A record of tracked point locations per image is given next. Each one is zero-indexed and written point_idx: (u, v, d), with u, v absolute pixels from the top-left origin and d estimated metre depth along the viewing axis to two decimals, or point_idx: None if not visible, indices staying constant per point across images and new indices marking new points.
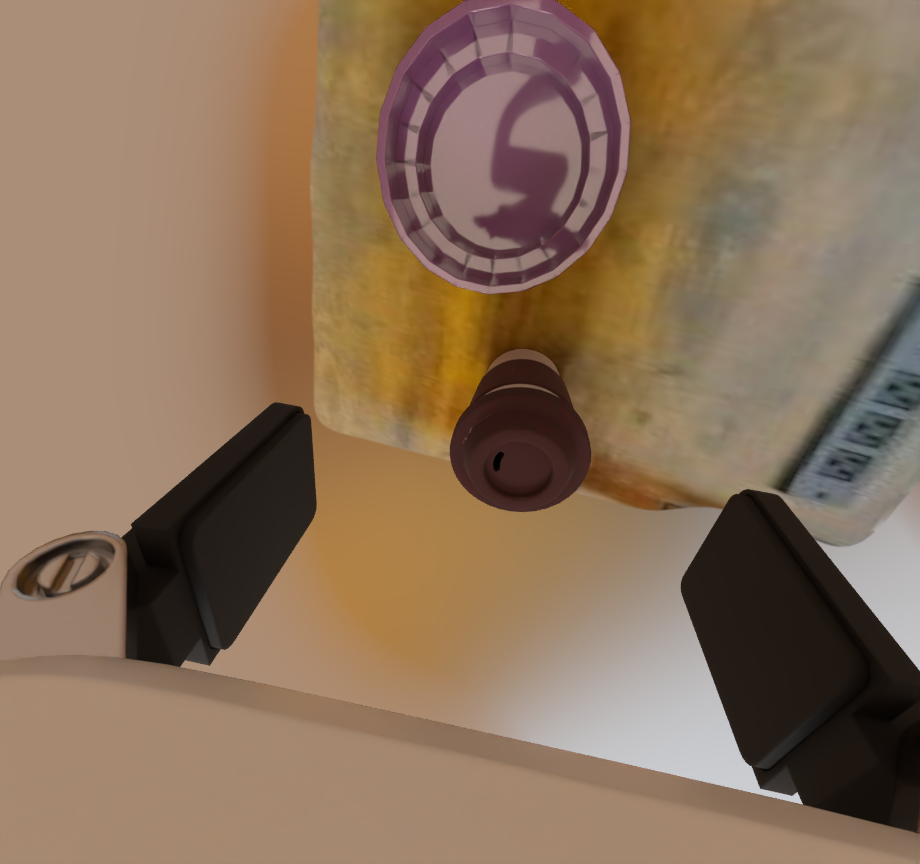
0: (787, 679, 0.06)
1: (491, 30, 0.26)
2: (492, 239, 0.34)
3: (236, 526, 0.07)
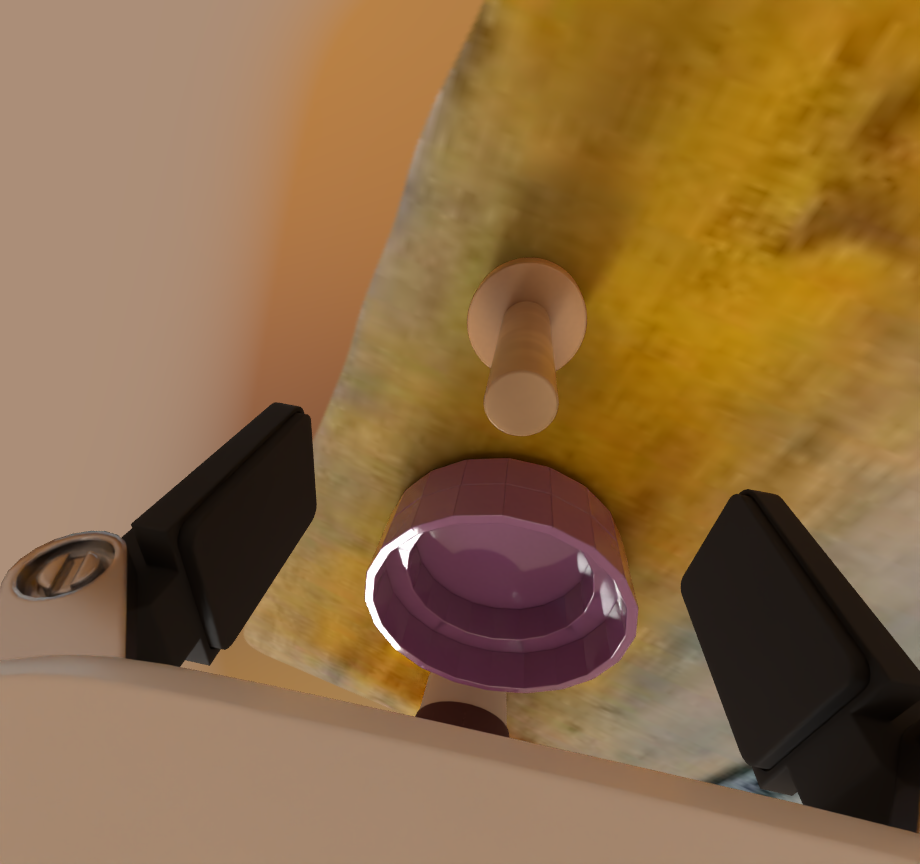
0: (787, 679, 0.06)
1: None
2: (472, 592, 0.33)
3: (236, 526, 0.07)
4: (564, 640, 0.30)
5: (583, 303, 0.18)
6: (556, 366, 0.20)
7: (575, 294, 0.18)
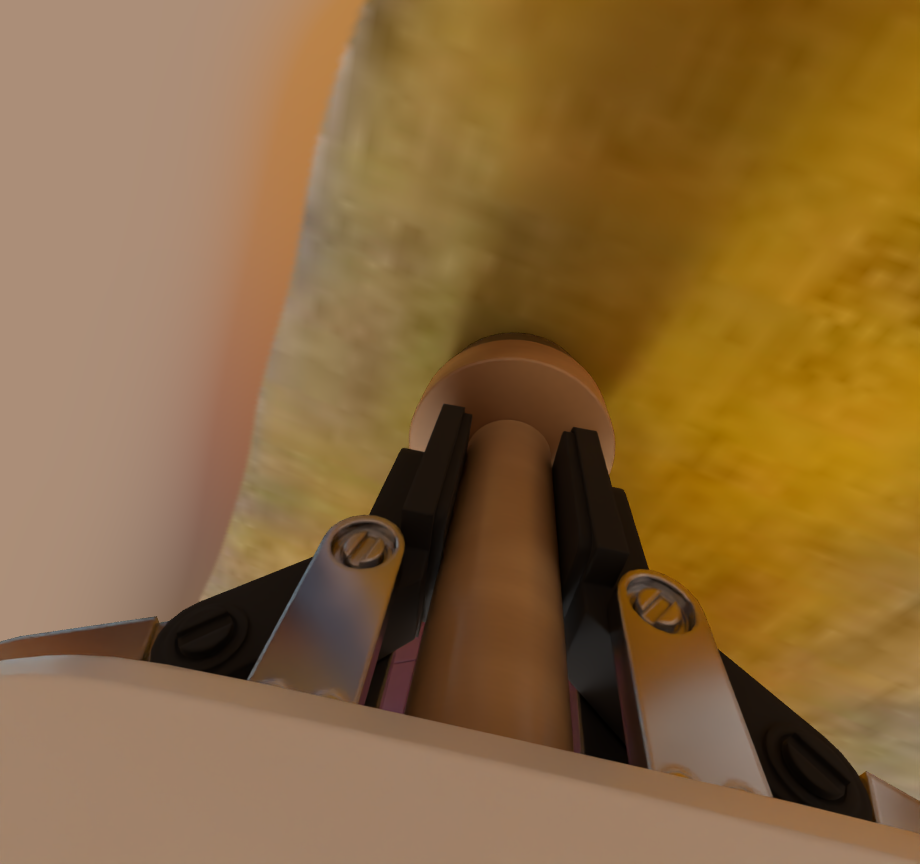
0: None
1: None
2: None
3: (450, 513, 0.08)
4: None
5: (609, 425, 0.10)
6: None
7: (595, 411, 0.10)
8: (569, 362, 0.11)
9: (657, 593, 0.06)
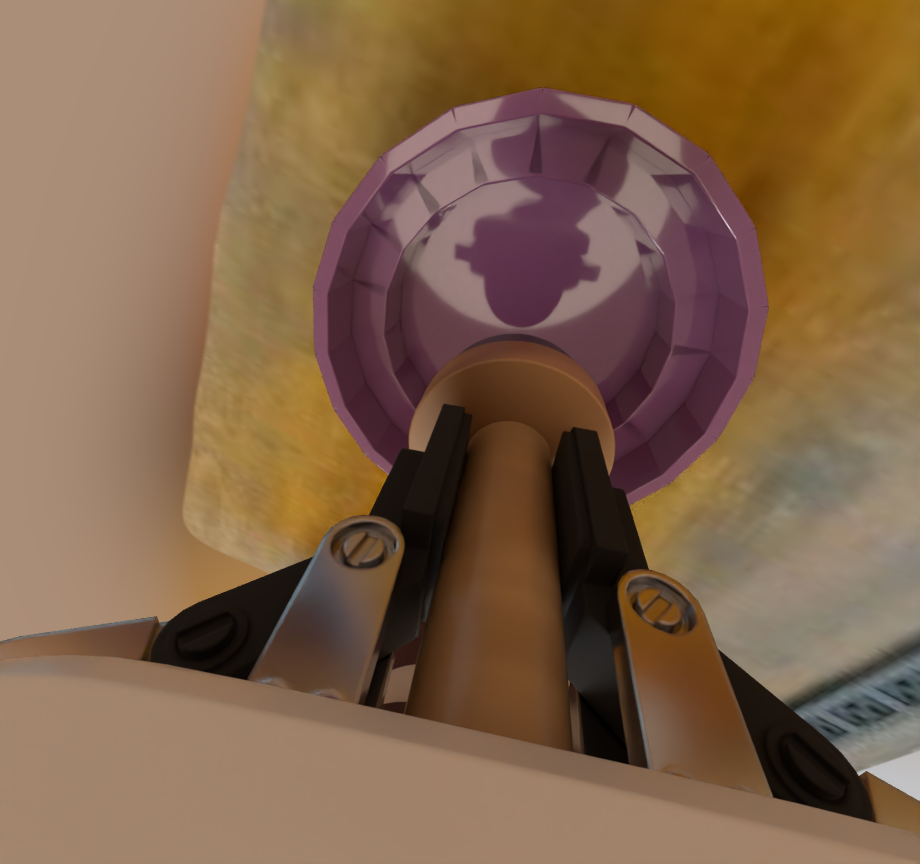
0: (559, 567, 0.08)
1: (569, 140, 0.14)
2: None
3: (450, 513, 0.08)
4: (618, 451, 0.20)
5: (609, 426, 0.10)
6: None
7: (595, 412, 0.10)
8: (569, 363, 0.10)
9: (657, 593, 0.06)
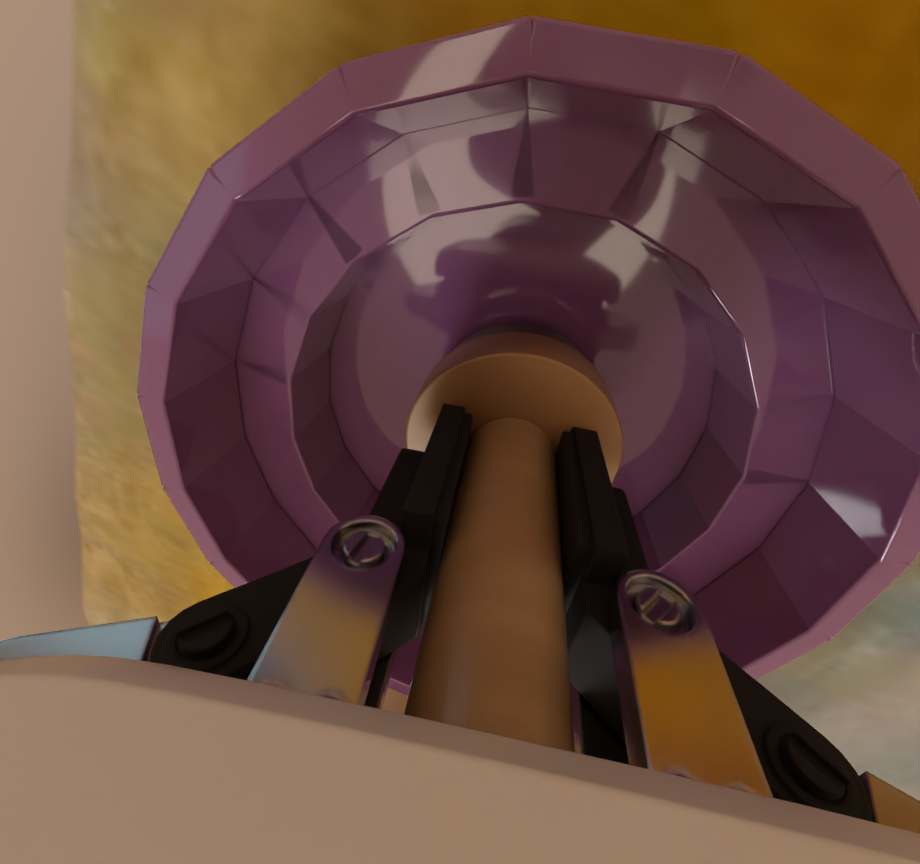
0: None
1: (583, 138, 0.08)
2: None
3: (450, 513, 0.08)
4: None
5: (618, 426, 0.10)
6: None
7: (604, 411, 0.10)
8: (577, 358, 0.10)
9: (657, 593, 0.06)
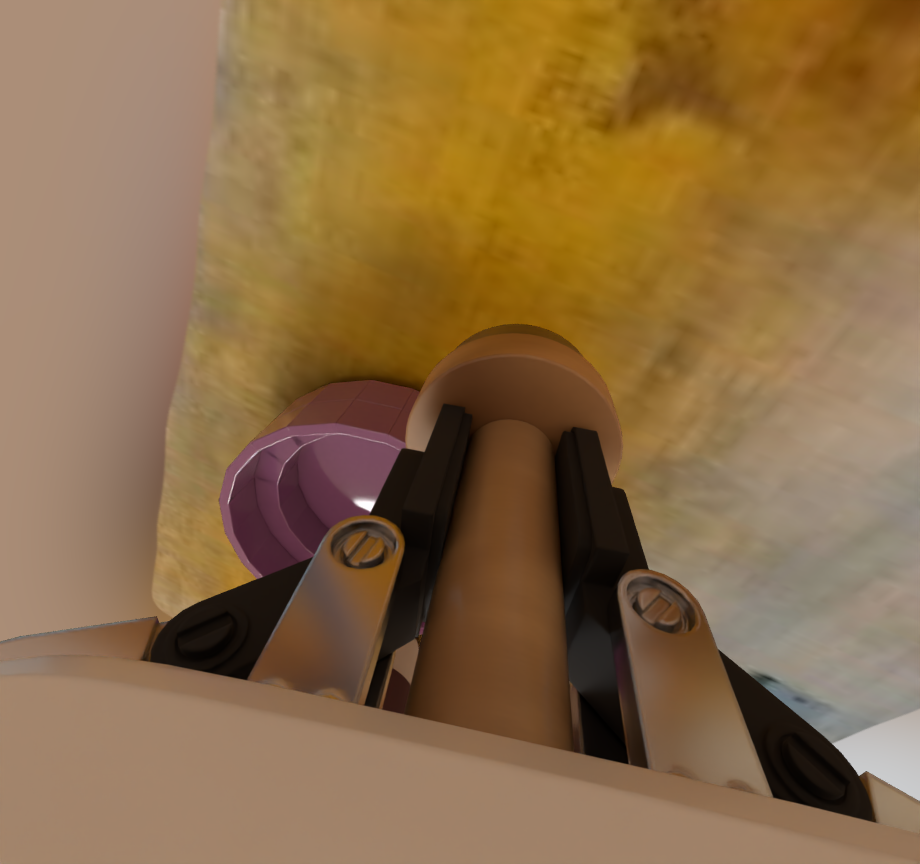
0: None
1: None
2: None
3: (450, 513, 0.08)
4: None
5: (617, 427, 0.10)
6: None
7: (603, 412, 0.10)
8: (577, 359, 0.10)
9: (657, 593, 0.06)
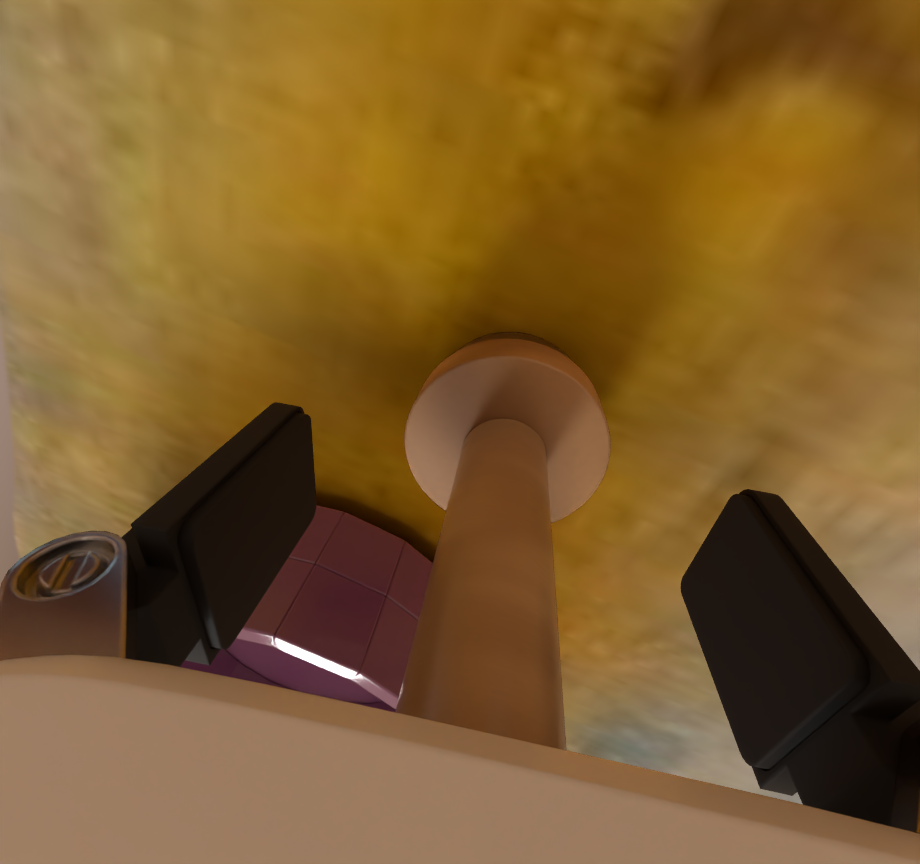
0: (787, 679, 0.06)
1: None
2: (297, 681, 0.23)
3: (236, 526, 0.07)
4: None
5: (605, 426, 0.10)
6: (555, 515, 0.12)
7: (592, 411, 0.10)
8: (566, 362, 0.11)
9: None
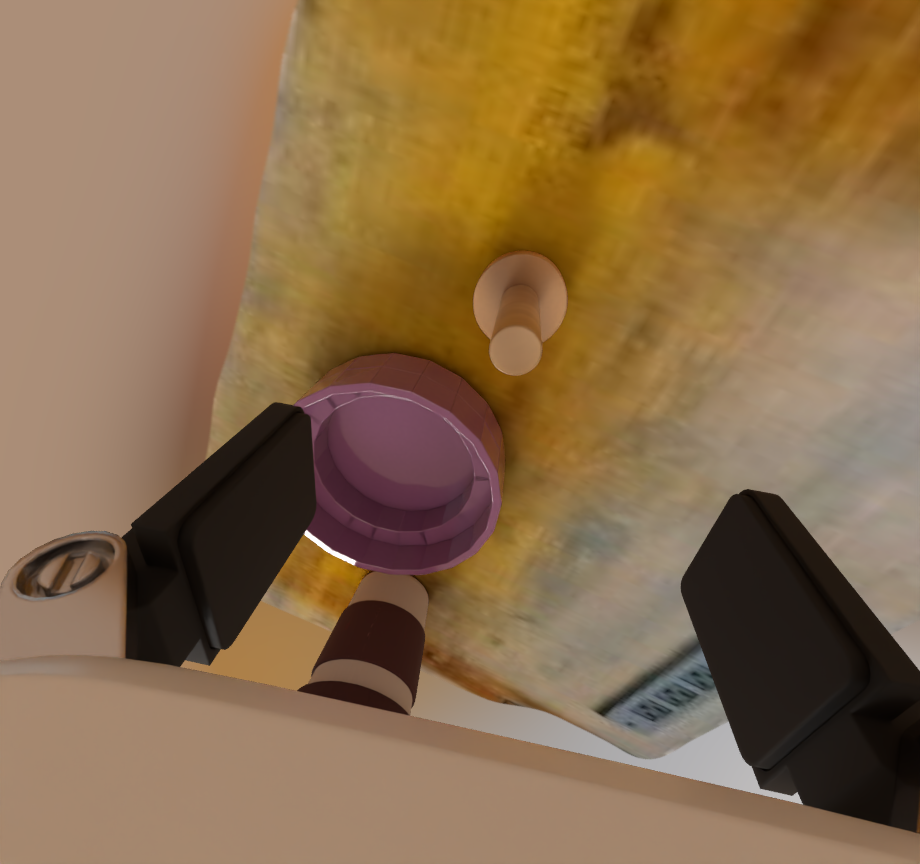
0: (787, 679, 0.06)
1: None
2: (384, 495, 0.36)
3: (236, 526, 0.07)
4: (458, 529, 0.33)
5: (564, 287, 0.23)
6: (543, 338, 0.25)
7: (558, 279, 0.23)
8: (547, 259, 0.24)
9: None
